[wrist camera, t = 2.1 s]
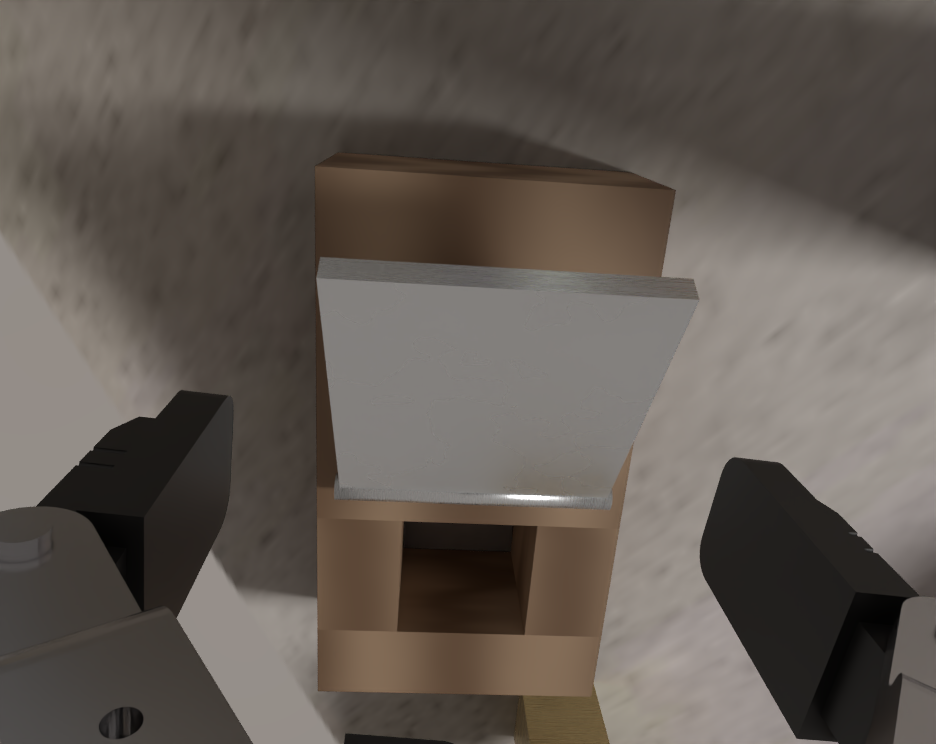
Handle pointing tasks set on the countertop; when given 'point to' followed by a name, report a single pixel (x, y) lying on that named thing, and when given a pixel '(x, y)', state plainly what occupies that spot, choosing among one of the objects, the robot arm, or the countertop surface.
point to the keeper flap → (491, 379)
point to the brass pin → (559, 720)
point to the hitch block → (459, 571)
